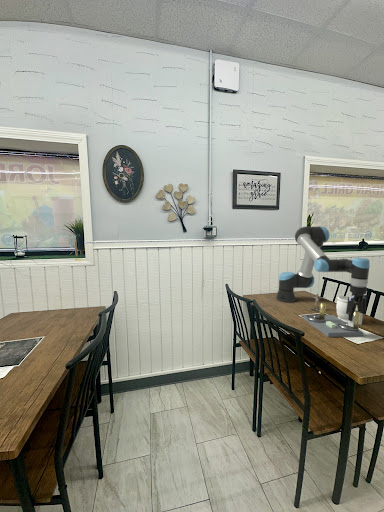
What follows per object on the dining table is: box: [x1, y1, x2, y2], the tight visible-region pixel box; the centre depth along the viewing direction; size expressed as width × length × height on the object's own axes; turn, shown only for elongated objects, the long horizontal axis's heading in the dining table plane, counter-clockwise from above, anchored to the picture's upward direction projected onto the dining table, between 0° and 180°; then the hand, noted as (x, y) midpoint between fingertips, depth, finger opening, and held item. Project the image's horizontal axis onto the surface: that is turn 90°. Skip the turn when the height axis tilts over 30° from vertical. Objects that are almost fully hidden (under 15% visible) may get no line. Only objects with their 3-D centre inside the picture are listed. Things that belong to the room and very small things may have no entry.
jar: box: [335, 295, 357, 323], centre depth 142 cm, size 11×10×15 cm
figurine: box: [308, 293, 324, 313], centre depth 161 cm, size 11×7×12 cm, turn 79°
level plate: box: [303, 314, 363, 338], centre depth 133 cm, size 24×20×5 cm
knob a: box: [306, 302, 327, 322], centre depth 138 cm, size 10×10×11 cm
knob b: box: [338, 309, 360, 331], centre depth 127 cm, size 10×10×11 cm
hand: (354, 324), depth 124 cm, fingers open, 7 cm apart
